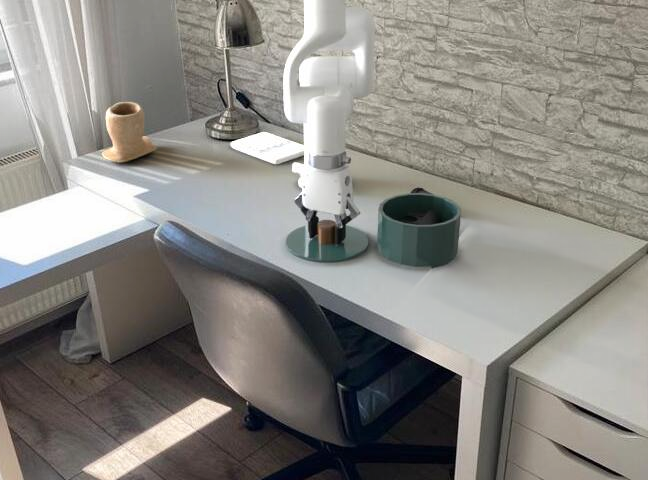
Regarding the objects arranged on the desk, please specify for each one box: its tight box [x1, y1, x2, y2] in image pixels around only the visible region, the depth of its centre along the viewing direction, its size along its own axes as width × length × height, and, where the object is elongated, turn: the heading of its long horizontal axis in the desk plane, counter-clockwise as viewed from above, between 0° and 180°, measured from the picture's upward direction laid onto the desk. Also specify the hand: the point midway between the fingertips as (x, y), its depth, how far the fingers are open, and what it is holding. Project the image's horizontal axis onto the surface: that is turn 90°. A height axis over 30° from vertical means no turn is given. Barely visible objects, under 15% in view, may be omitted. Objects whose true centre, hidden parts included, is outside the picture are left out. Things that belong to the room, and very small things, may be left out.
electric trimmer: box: [410, 187, 435, 195], centre depth 187 cm, size 4×16×3 cm, turn 35°
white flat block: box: [230, 131, 304, 165], centre depth 222 cm, size 13×20×2 cm, turn 44°
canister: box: [376, 192, 462, 269], centre depth 166 cm, size 17×17×10 cm
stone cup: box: [101, 101, 157, 163], centre depth 215 cm, size 15×12×15 cm
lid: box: [284, 219, 369, 263], centre depth 170 cm, size 18×18×5 cm
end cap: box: [401, 210, 442, 225], centre depth 167 cm, size 10×7×7 cm
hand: (326, 238), depth 170 cm, fingers open, 5 cm apart
